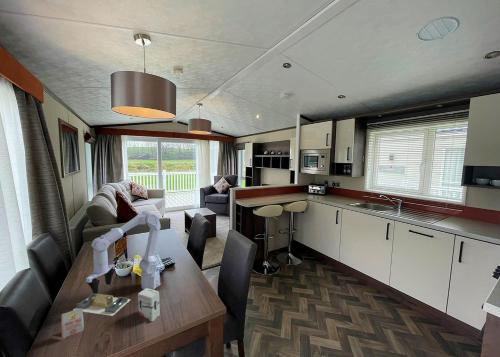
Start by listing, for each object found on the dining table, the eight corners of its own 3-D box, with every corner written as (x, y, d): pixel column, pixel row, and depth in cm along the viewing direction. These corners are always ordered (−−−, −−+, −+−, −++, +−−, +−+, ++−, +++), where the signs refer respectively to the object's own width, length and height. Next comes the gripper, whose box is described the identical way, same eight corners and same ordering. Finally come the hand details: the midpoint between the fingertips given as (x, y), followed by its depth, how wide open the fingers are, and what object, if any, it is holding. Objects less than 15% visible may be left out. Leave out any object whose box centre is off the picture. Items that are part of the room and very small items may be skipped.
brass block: (112, 303, 108) (112, 295, 108) (107, 307, 105) (106, 299, 104) (97, 301, 110) (97, 293, 109) (91, 305, 106) (90, 297, 106)
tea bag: (63, 334, 90) (62, 311, 89) (83, 327, 94) (82, 305, 93) (61, 340, 87) (60, 317, 86) (83, 333, 91) (81, 310, 90)
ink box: (138, 317, 100) (137, 293, 99) (146, 310, 105) (146, 287, 104) (152, 322, 97) (151, 297, 96) (160, 315, 102) (159, 291, 101)
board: (131, 301, 111) (130, 299, 111) (112, 317, 100) (112, 315, 99) (94, 296, 115) (94, 294, 115) (72, 311, 103) (72, 309, 103)
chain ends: (127, 301, 110) (127, 297, 110) (114, 313, 101) (114, 309, 101) (92, 296, 113) (92, 293, 113) (76, 307, 105) (76, 303, 104)
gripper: (105, 255, 113) (107, 279, 114) (80, 268, 99) (81, 296, 100) (117, 256, 112) (118, 281, 113) (93, 270, 98) (94, 298, 99)
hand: (102, 288), depth 107 cm, fingers open, 7 cm apart
